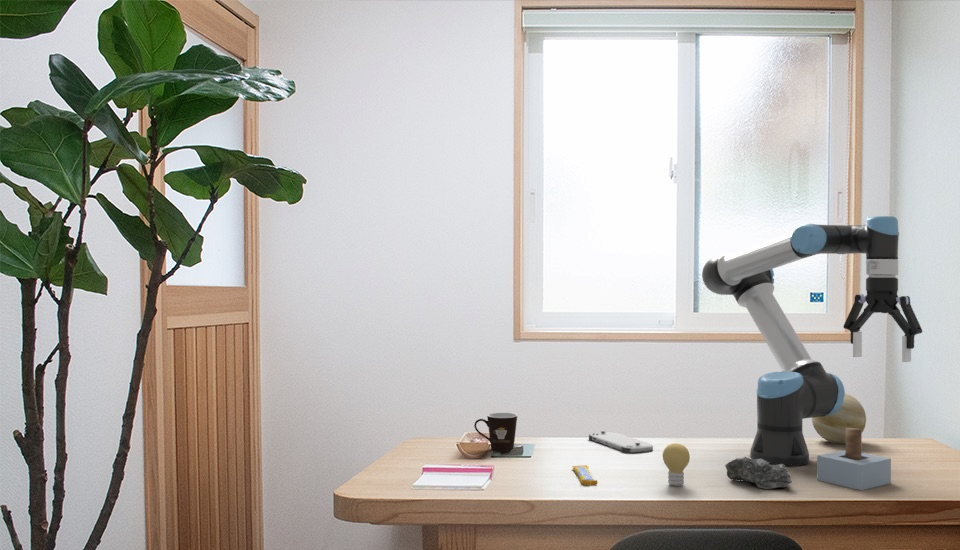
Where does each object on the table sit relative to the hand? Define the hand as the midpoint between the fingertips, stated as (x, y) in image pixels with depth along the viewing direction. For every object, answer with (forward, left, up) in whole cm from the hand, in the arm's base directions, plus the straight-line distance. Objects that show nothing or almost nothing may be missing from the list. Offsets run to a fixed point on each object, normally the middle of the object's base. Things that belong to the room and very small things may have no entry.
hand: (881, 359), depth 228 cm
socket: (-6, -15, -29) cm, 33 cm away
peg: (-6, -15, -28) cm, 32 cm away
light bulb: (-45, -36, -29) cm, 64 cm away
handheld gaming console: (-70, +4, -29) cm, 76 cm away
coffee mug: (-100, -17, -29) cm, 105 cm away
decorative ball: (-11, +32, -29) cm, 45 cm away
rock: (-27, -27, -29) cm, 48 cm away
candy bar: (-67, -38, -29) cm, 83 cm away
